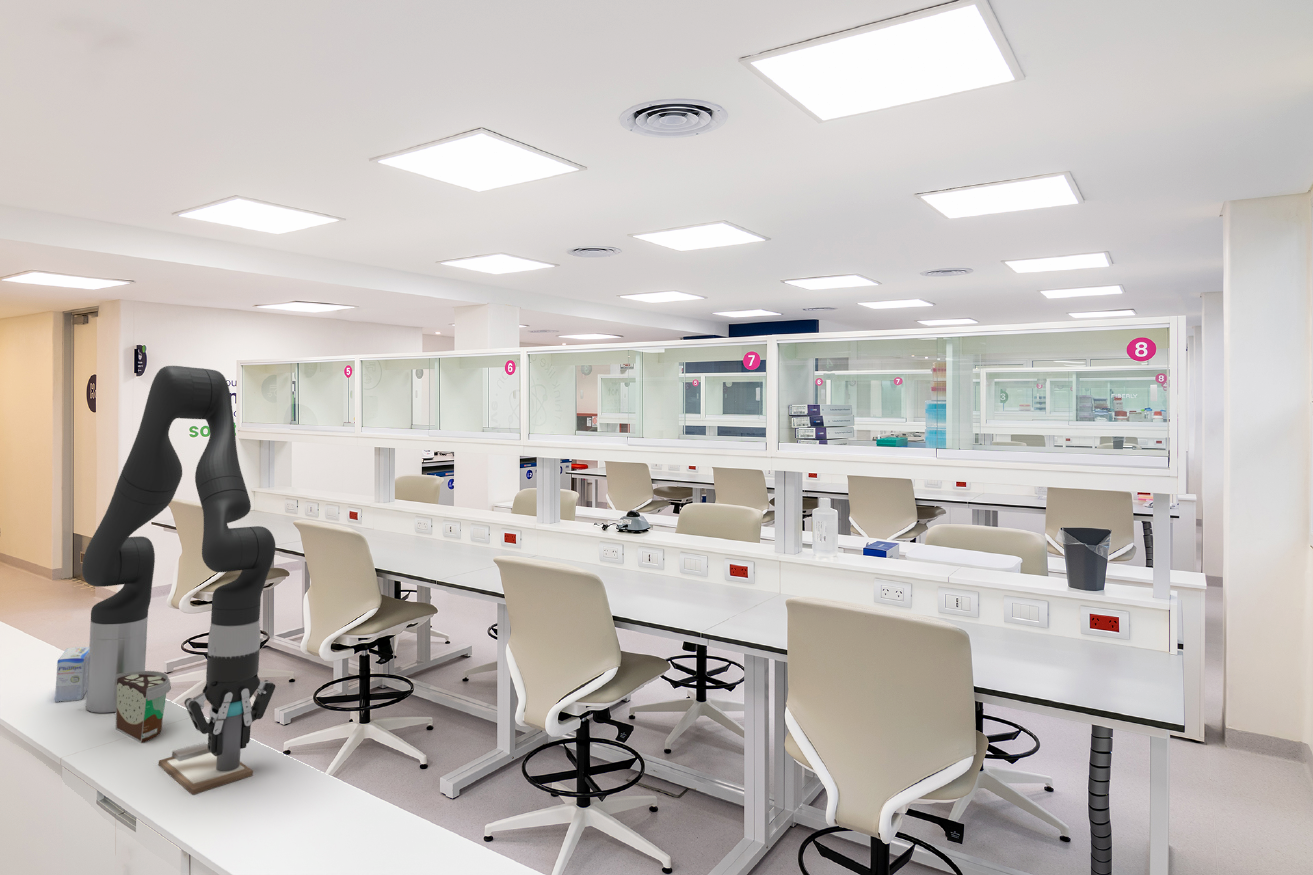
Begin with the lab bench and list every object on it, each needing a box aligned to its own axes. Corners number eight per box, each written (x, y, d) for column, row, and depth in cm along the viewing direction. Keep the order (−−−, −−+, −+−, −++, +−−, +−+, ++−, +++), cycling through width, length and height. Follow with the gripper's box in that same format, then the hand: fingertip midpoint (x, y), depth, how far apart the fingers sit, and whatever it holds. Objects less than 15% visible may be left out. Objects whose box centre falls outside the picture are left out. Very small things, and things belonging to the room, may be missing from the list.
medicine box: (63, 689, 153) (66, 647, 152) (90, 686, 155) (92, 645, 155) (54, 702, 146) (56, 659, 146) (82, 700, 148) (84, 657, 148)
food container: (182, 733, 136) (185, 679, 136) (145, 745, 131) (148, 689, 130) (148, 716, 142) (151, 665, 142) (111, 726, 137) (114, 673, 137)
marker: (212, 766, 122) (215, 700, 122) (234, 759, 125) (238, 694, 125) (221, 773, 120) (224, 706, 120) (243, 766, 123) (247, 700, 123)
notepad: (158, 765, 124) (158, 754, 124) (216, 748, 131) (216, 738, 131) (192, 794, 115) (193, 783, 115) (252, 775, 123) (253, 764, 122)
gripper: (267, 634, 130) (261, 731, 130) (177, 650, 119) (171, 756, 119) (287, 644, 126) (282, 744, 126) (196, 662, 114) (190, 772, 115)
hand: (228, 749), depth 123 cm, fingers closed on marker, 3 cm apart
